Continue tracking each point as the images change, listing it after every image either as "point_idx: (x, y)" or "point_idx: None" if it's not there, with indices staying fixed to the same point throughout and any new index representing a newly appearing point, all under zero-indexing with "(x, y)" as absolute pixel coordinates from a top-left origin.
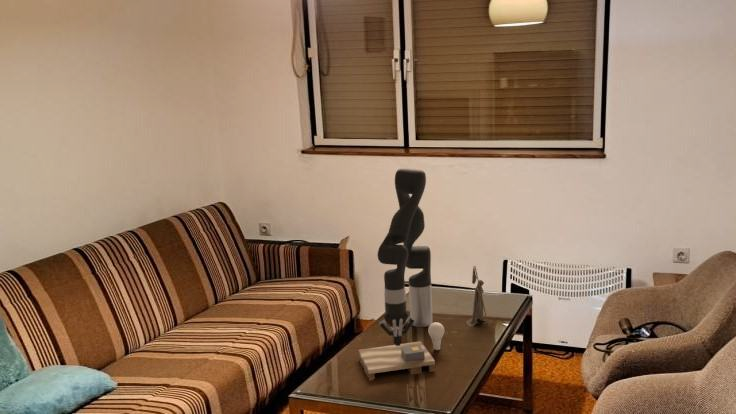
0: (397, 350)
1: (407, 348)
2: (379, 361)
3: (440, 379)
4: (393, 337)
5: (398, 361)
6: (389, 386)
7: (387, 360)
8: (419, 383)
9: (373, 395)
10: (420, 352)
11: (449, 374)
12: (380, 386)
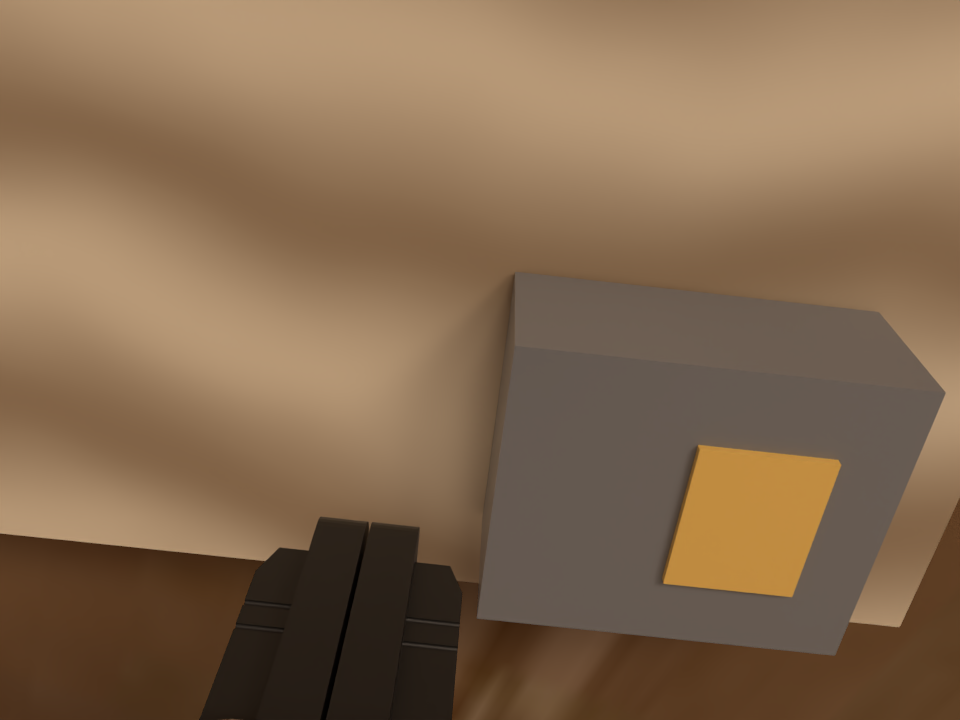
0: (534, 4)
1: (619, 441)
2: (72, 333)
3: (771, 686)
4: (226, 700)
5: (384, 453)
6: (196, 617)
7: (217, 351)
8: (524, 675)
9: (4, 699)
10: (759, 641)
11: (932, 638)
12: (97, 584)
